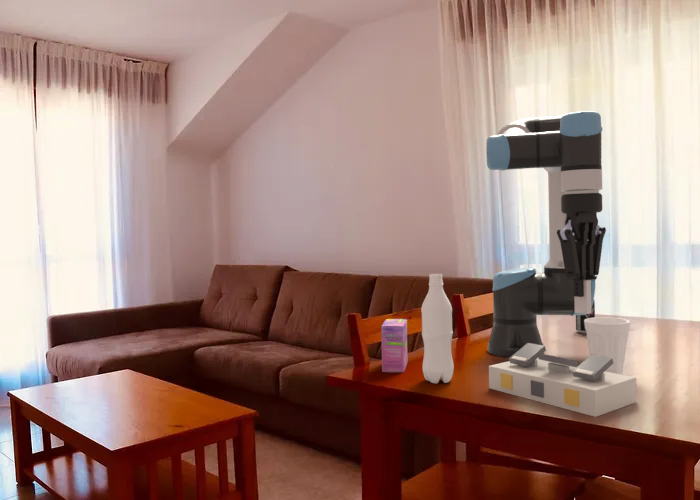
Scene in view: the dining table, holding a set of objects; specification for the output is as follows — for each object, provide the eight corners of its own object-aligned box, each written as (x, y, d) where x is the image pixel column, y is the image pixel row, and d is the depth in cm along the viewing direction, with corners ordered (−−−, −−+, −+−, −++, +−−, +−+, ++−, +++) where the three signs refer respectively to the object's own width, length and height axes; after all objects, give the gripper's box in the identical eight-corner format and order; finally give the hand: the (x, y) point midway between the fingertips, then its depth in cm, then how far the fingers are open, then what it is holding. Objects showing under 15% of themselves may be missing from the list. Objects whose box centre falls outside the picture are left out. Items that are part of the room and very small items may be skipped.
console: (530, 377, 142) (529, 350, 142) (636, 402, 121) (636, 370, 121) (488, 388, 134) (487, 359, 134) (594, 417, 113) (594, 383, 113)
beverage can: (596, 331, 196) (596, 294, 196) (593, 334, 191) (592, 296, 191) (578, 330, 199) (577, 293, 199) (574, 333, 195) (573, 295, 194)
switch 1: (529, 347, 138) (527, 342, 138) (546, 350, 134) (544, 345, 134) (510, 363, 134) (508, 358, 134) (527, 366, 131) (525, 361, 130)
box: (404, 372, 151) (403, 325, 150) (381, 372, 152) (380, 325, 151) (408, 363, 161) (407, 318, 161) (386, 362, 162) (385, 318, 162)
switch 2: (558, 363, 131) (559, 357, 131) (577, 367, 128) (578, 361, 128) (538, 359, 127) (539, 353, 128) (557, 363, 124) (558, 356, 124)
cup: (627, 383, 135) (627, 325, 134) (580, 378, 140) (579, 322, 139) (633, 373, 143) (633, 318, 143) (588, 369, 148) (588, 316, 148)
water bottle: (453, 385, 138) (450, 275, 137) (421, 384, 139) (418, 276, 138) (454, 377, 145) (451, 272, 144) (424, 376, 146) (421, 273, 145)
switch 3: (592, 359, 125) (591, 354, 125) (613, 363, 121) (612, 357, 121) (573, 376, 121) (572, 371, 121) (594, 381, 117) (592, 375, 117)
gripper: (584, 193, 125) (585, 307, 126) (544, 193, 118) (546, 314, 119) (618, 191, 119) (619, 310, 120) (578, 191, 112) (580, 319, 113)
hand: (582, 312), depth 120 cm, fingers closed
